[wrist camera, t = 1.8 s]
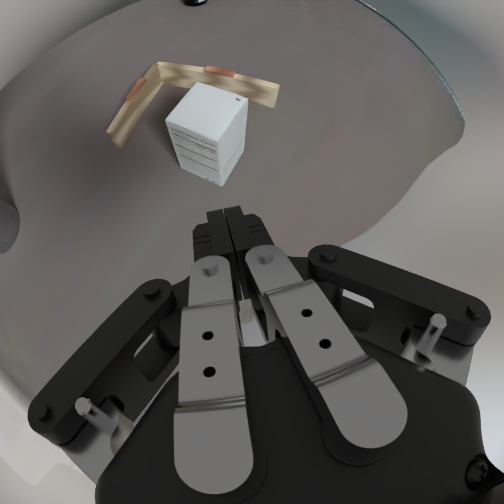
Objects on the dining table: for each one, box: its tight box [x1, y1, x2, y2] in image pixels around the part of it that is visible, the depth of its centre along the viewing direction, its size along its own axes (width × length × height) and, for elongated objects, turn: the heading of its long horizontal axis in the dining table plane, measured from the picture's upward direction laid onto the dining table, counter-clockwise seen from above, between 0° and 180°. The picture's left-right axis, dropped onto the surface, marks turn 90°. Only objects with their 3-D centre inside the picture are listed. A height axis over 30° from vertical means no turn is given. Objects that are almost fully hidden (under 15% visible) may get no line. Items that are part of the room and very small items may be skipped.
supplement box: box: [165, 82, 248, 186], centre depth 34 cm, size 7×7×13 cm
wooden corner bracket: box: [106, 62, 280, 149], centre depth 39 cm, size 23×17×6 cm
